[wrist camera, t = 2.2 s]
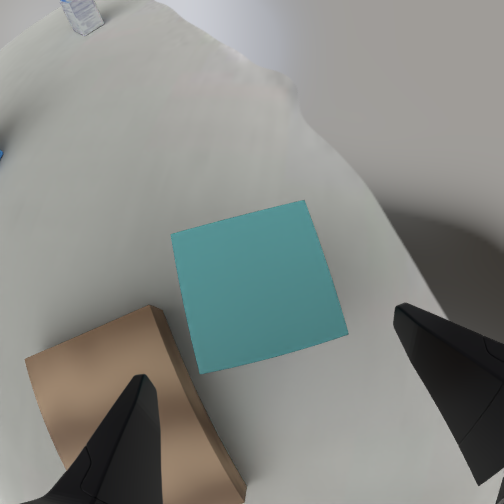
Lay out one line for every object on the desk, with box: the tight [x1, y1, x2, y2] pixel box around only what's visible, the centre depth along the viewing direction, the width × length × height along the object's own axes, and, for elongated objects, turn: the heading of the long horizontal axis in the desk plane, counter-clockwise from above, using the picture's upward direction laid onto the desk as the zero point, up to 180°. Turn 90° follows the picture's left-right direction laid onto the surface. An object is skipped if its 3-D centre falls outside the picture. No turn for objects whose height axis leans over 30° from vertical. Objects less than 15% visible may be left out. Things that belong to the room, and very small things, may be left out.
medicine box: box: [60, 0, 104, 36], centre depth 32 cm, size 8×4×9 cm, turn 43°
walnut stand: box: [25, 305, 247, 504], centre depth 16 cm, size 14×12×2 cm
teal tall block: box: [171, 200, 349, 374], centre depth 15 cm, size 5×5×10 cm
